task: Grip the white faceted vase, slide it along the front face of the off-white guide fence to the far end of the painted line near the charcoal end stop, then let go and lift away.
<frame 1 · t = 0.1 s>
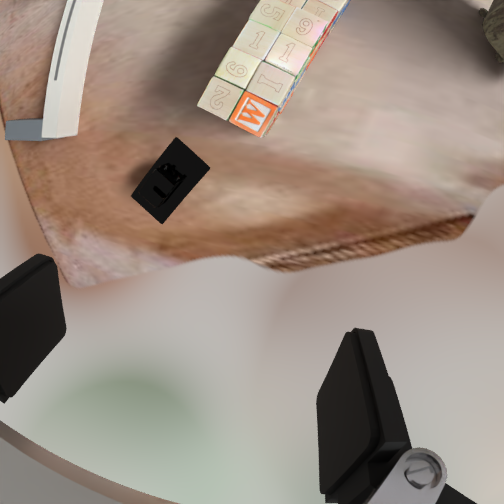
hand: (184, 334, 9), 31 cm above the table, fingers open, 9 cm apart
stack of blocks: (287, 52, 32), on the table
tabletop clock: (499, 50, 26), on the table
guide fence: (90, 20, 30), on the table
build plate: (170, 181, 40), on the table
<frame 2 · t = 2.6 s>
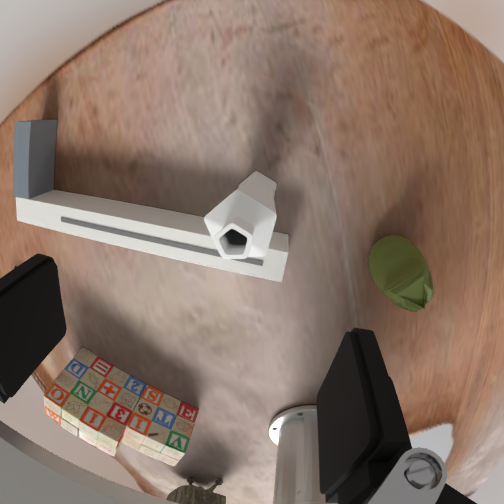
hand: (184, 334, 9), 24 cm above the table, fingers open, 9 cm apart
white faceted vase: (257, 188, 31), on the table
stack of blocks: (135, 388, 45), on the table
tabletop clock: (199, 479, 56), on the table
pear: (386, 251, 32), on the table
guide fence: (158, 221, 33), on the table
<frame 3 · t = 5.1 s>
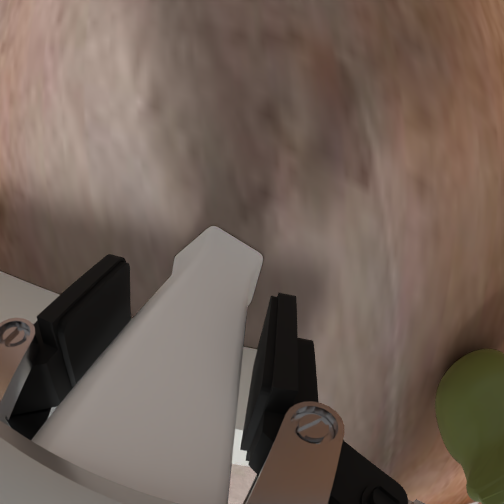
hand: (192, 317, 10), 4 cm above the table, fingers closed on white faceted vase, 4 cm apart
white faceted vase: (219, 264, 14), on the table, touching gripper
pear: (462, 365, 15), on the table
guide fence: (50, 310, 16), on the table
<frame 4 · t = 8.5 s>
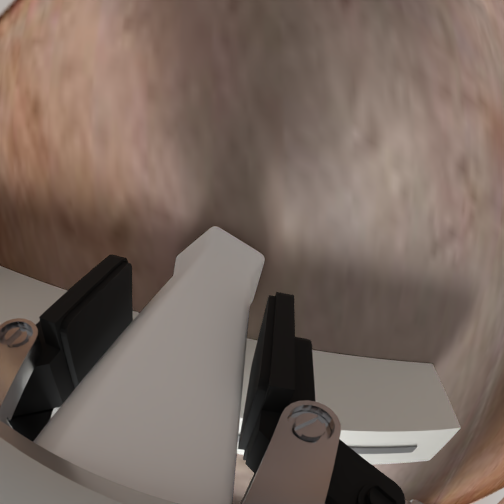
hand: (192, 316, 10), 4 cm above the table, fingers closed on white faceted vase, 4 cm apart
white faceted vase: (220, 265, 14), on the table, touching gripper
guide fence: (185, 346, 16), on the table
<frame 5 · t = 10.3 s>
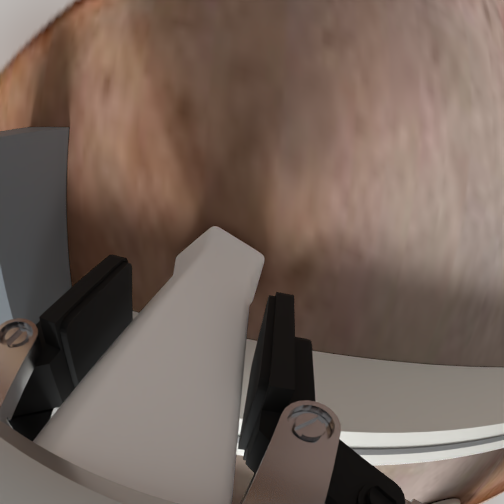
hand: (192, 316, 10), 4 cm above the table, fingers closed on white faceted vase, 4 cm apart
white faceted vase: (220, 265, 14), on the table, touching gripper
guide fence: (339, 375, 16), on the table
when the fingers open (4 cm above the table, at t = 11.4 s): white faceted vase stays where it is, on the table.
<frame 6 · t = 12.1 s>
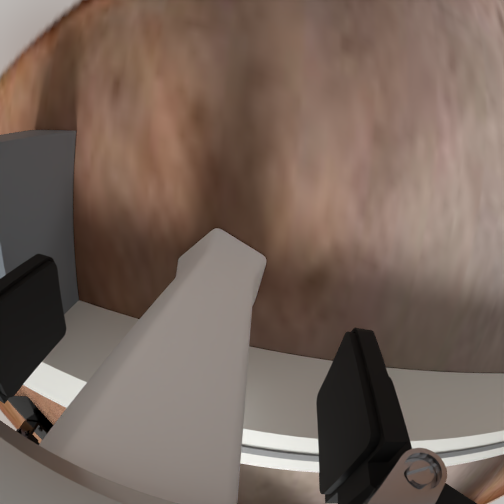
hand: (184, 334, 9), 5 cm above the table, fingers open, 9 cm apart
white faceted vase: (222, 266, 14), on the table
guide fence: (350, 383, 15), on the table
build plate: (49, 426, 24), on the table
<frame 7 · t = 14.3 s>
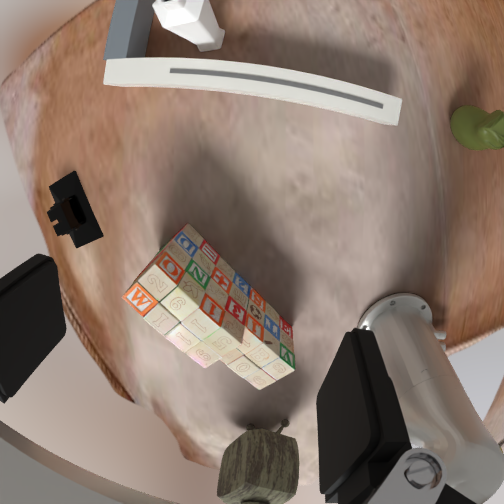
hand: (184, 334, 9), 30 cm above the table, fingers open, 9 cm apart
white faceted vase: (209, 36, 30), on the table
stack of blocks: (228, 290, 43), on the table
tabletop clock: (259, 426, 56), on the table
pear: (459, 125, 31), on the table
guide fence: (268, 85, 32), on the table
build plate: (77, 209, 40), on the table
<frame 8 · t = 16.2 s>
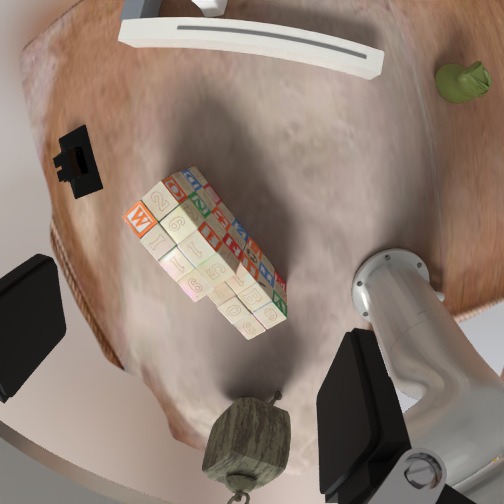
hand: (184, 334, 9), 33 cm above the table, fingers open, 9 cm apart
white faceted vase: (213, 5, 31), on the table
stack of blocks: (225, 238, 44), on the table
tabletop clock: (251, 400, 56), on the table
supplement bottle: (496, 446, 62), on the table
pear: (444, 85, 32), on the table
guide fence: (264, 44, 33), on the table
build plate: (81, 161, 42), on the table
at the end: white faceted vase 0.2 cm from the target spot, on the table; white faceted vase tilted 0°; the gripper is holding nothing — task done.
